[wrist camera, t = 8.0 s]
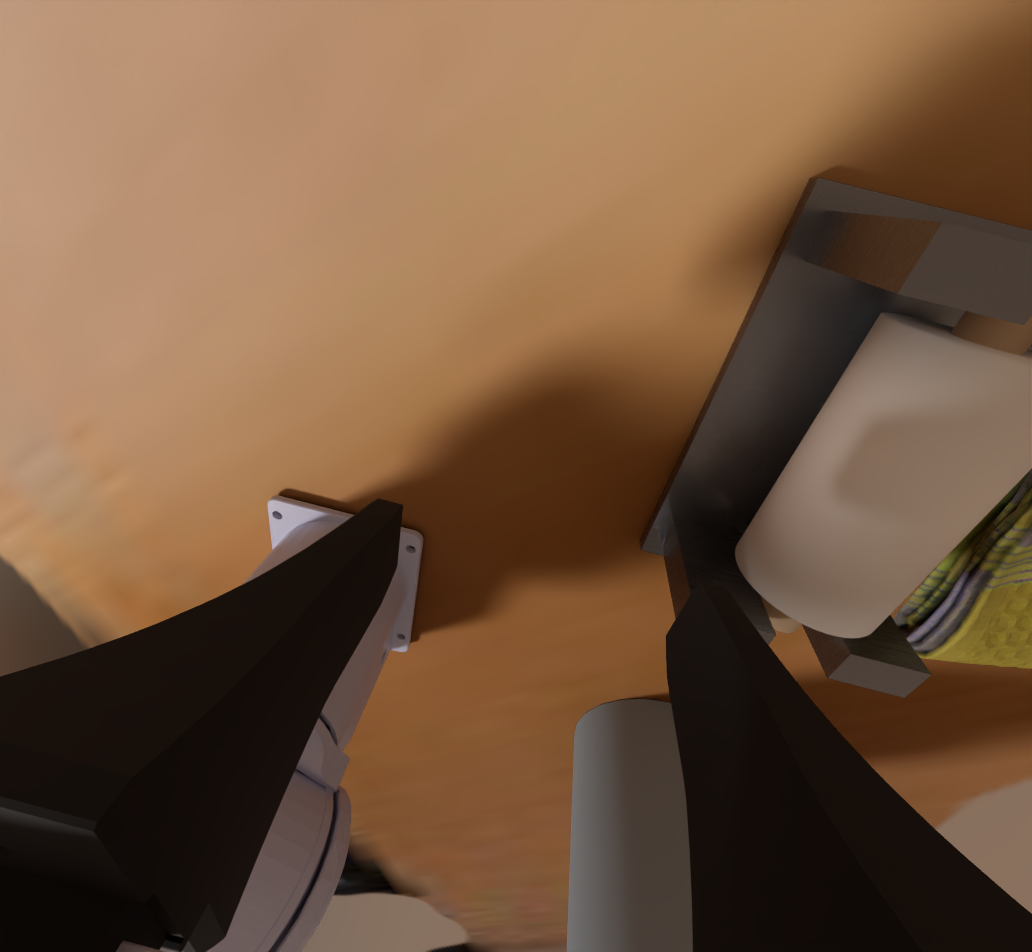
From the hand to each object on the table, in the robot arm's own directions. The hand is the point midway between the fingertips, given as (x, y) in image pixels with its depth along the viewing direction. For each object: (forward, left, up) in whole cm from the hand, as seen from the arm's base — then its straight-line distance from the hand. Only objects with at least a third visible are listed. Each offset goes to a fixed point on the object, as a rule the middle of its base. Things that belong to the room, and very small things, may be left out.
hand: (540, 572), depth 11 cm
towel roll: (+2, -10, -6) cm, 12 cm away
